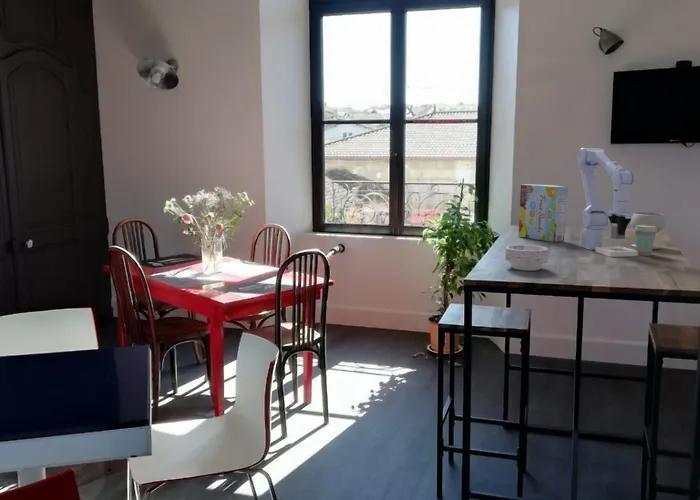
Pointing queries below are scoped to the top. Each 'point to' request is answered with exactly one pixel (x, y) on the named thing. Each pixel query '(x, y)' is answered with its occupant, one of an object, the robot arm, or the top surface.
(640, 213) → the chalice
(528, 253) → the white round bowl
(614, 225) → the plug
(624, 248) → the socket plate
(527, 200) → the snack box
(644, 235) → the coffee cup
